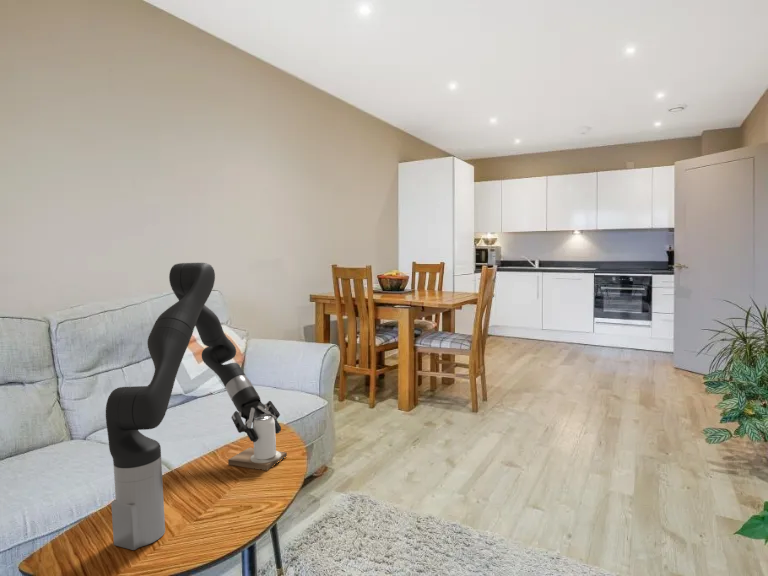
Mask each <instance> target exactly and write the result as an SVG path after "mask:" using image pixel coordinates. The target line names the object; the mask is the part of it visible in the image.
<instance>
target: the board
mask: <svg viewBox="0 0 768 576" xmlns="http://www.w3.org/2000/svg"><path fill="white" fill-rule="evenodd" d="M286 456H287V457H288V453H287V452H285V451H278V450H276V455H275V456H274V457H273V458H271V459H268V460H258V459H256V458H255V457H254V447H247V448H246V449H244V450H243V451H241V452H239V453H237V454H235V455H233V456H232V457H230V458H229V459H228V460H227V462H228V465H229V466H235V467H242V468H248V469H254V468H255V469H254V470H260V469H262V470H261V471H266V470H267V471H269V470H270V469H271V468H270V467H272V466H273V465H274V464H276V463H277V462H278V461H280V460H281V459H283V458H284V457H286ZM287 457H286V458H287ZM283 460H284V459H283ZM276 465H277V464H276ZM273 467H274V466H273ZM273 467H272V468H273ZM269 468H270V469H269ZM268 469H269V470H268Z"/></svg>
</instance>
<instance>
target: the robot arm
mask: <svg viewBox="0 0 768 576" xmlns="http://www.w3.org/2000/svg"><path fill="white" fill-rule="evenodd" d="M168 278H169V285H170V288H171V290H172V292H173V293H174V295H175V296H176V298H177V299H178V300H177V302H175V303H174V304H172V305H171V306H169V307H168V308H167V309H166V310H164V311H163V312H162V313H161V314H160V315H159V316H158V317H157V319H156V320H155V322H154V324H153V326H152V329H151V331H150V333H149V334H148V337H147V349H148V353H149V355H150V357H151V361H152V362H153V365H154V374H153V377H152V379H151V382H150V383H149V384H148V385H141V386H139V385H138V386H137V385H136V386H120V387H117V388H114V389H113V390H112V392H110V394H109V395H108V397H107V401H106V406H105V424H106V432H107V437H108V438H107V440H108V447H109V448H108V449H109V453H110V455H111V457H112V461H113V462H112V463H113V464H112V465H113V475H114V476H113V478H114V479H113V480H114V494H115V499H114V500H112V501H111V506H110V507H111V521H112V522H111V523H112V536H113V539H112V540H113V546H116V547H120V548H124V549H128V550H131V551H135V550H137V549H139V548H141V547H144V546H148V545H150V544H153V543H154V542H156V541H158V540H159V539H160V538H162V537H163V535H165V533H166V523H165V521H166V520H165V519H166V517H165V503H164V502H165V501H164V488H163V487H164V483H163V466H162V465H163V464H162V451H161V450H162V449H161V448H162V447H161V445H160V442H159V441H157V440H156V439H154V438H150V437H148V436H146V435H144V434H143V433H141V432H140V431H143V430H144V431H145V430H152V429H153V430H154V429H155V428H157V427H159V426H160V424H161V423H162V422H163V419H164V418H165V417H166V413H167V409H168V406H169V404H170V400H171V396H172V392H173V389H174V385H175V381H176V377H177V375H178V371H179V369H180V367H181V364H182V361H183V358H184V355H185V353H186V351H187V349H188V346H189V343H190V342H191V339H192V336H193V333H194V330H195V328H196V330H197V333H198V336H199V338H200V340H201V342H202V344H203V345H204V346H206V347H205V348H204V349H203V350H202V351H201V359H202V361H203V363H204V364H205V365H206V366H207V367H208V368H209V369H210V370H211V371H213V372H214V373H215V375H217V376H218V377H219V379H220V381H221V382H222V384H223V386H224V387H225V389H226V392H227V394H228V396H229V398H230V400H231V401H232V404H233V405H234V407H235V409H236V411H234V412H233V414H232V415H231V418H230V419H231V420H232V423H233V424H234V426H235V428H236V430H237V432H238V433H240V434H241V433H246V434H247V437H248V438H249V440H250V441H251V442H252V443H254V442H256V441H257V440H258V436H257V435H256V433H255V431H254V429H253V421H254V417H255V416H256V418H257V417H259V416H261V415H262V414H271V415H273V419H274V420H275V435H276V434H279V433H281V430H282V427H281V425H280V423H279V421H278V418H279V417H280V416H281V414H280V412H279V410H278V409H277V407H276V406H275V404H273V402H272V401H271V400H269V401H267V402H266V403H263V402H262V401H261V397H260V396H259V393H258V392H257V390H256V388H255V387H254V385H253V383H252V382H251V380H250V379H249V378H248V377H247V375H246V374H245V372H244V370H243V369H242V367H241V365H240V364H239V363H237V362H230V363H227V364H226V362H229V361H231V360H233V359H234V358H235V357H236V355H237V348H236V346H235V344H234V343H233V342H232V341H231V340H230V339H229V338H228V336H227V335H226V334H225V332H224V329H223V327H222V324H221V321H220V318H219V317H218V316H217V314H215V312H214V311H213V310H212V309H210V308H209V307H208V306H207V305H205V304H206V303H207V301H208V299H209V297H210V295H211V294H212V291H213V289H214V285H215V280H216V273H215V269H214V267H213V266H212V265H211V264H209V263H207V262H179V263H176V264H173V265H172V267H171V268H170V270H169V277H168ZM243 419H244V421H243Z"/></svg>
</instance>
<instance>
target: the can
mask: <svg viewBox="0 0 768 576" xmlns="http://www.w3.org/2000/svg"><path fill="white" fill-rule="evenodd" d="M252 428H253V429H254V431H255V433H256V435H257V436H258V440H257V441H256V442H253V448H254V457H255V458H256V459H258V460H268V459H271V458H273V457H274V456H275V455H276V451H277V444H276V443H277V439H276V436H277V435H276V433H275V420H274V419H273V415H271V414H262V415H261V416H259V417H257V418H256V416H255V417H254V421H253V423H252Z"/></svg>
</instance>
